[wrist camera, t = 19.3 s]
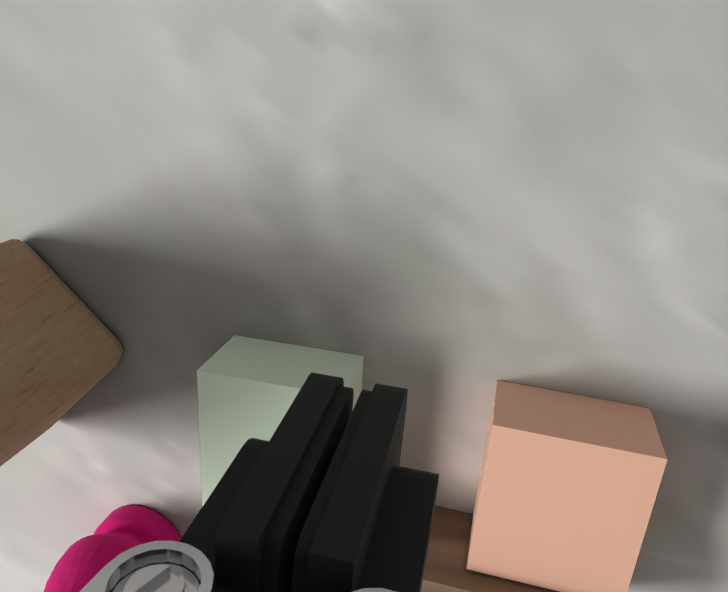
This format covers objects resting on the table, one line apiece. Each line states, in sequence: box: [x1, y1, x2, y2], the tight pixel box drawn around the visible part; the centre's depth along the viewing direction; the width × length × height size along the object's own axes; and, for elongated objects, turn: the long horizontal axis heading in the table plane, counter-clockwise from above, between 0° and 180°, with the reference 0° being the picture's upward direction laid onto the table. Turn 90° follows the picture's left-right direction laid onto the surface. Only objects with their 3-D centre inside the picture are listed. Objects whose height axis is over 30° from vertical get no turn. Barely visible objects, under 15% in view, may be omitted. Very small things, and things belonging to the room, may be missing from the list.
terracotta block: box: [466, 380, 668, 592], centre depth 34 cm, size 9×8×5 cm
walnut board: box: [421, 506, 560, 592], centre depth 37 cm, size 3×22×6 cm, turn 85°
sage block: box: [197, 335, 364, 507], centre depth 37 cm, size 9×8×5 cm
